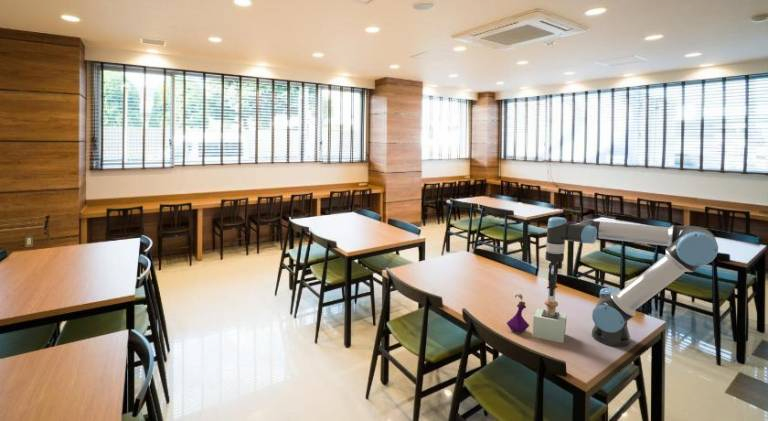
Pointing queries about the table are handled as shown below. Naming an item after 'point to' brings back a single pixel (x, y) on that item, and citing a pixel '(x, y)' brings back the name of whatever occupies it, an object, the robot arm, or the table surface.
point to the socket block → (549, 326)
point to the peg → (550, 308)
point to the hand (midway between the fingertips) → (551, 301)
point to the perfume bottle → (518, 318)
